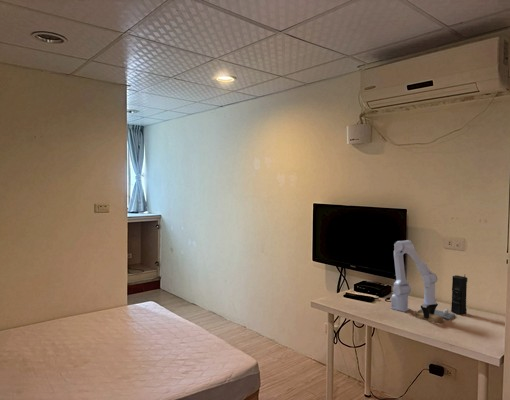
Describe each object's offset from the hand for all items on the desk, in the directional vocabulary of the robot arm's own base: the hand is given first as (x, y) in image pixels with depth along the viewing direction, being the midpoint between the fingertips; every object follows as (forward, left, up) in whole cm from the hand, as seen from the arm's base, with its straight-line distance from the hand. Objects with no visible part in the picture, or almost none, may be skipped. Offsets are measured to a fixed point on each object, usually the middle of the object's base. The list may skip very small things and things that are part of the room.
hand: (429, 316), depth 219 cm
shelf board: (0, 0, -2) cm, 2 cm away
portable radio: (+8, +24, -2) cm, 25 cm away
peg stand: (0, +11, -1) cm, 11 cm away
